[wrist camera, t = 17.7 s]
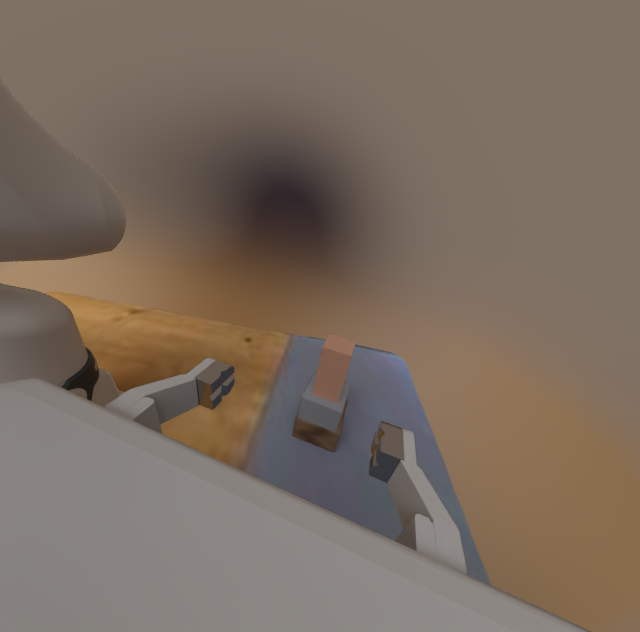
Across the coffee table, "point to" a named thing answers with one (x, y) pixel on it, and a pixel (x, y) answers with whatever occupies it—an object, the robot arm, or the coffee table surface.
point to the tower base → (317, 433)
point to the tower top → (322, 407)
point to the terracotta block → (333, 367)
